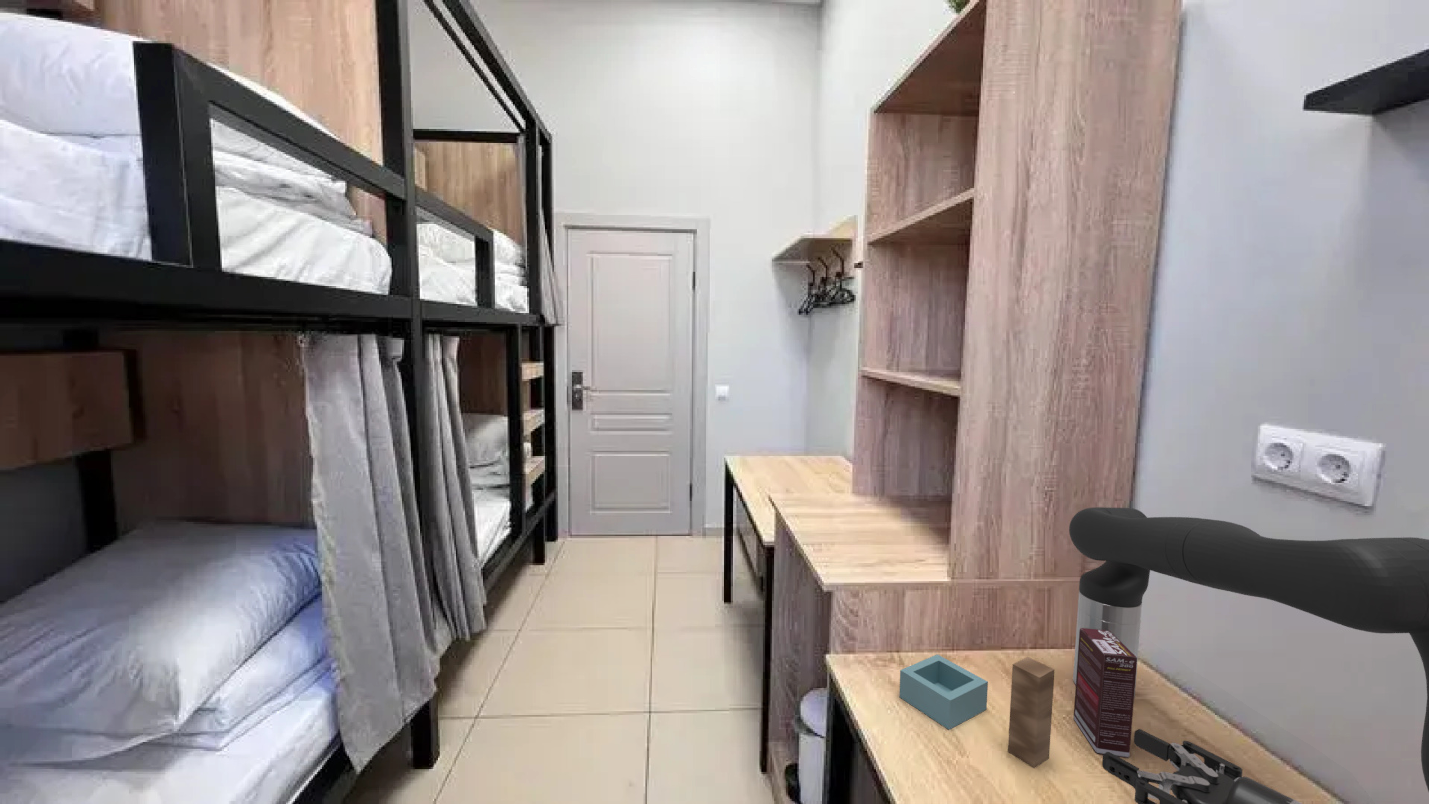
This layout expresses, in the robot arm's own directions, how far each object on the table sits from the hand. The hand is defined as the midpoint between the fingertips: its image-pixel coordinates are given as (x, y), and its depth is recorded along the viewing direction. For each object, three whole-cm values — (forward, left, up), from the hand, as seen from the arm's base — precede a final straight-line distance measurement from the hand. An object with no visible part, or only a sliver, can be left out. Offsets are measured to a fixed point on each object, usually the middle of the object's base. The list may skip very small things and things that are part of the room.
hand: (1119, 747), depth 74 cm
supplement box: (-16, 0, -9) cm, 18 cm away
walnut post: (-6, -10, -9) cm, 15 cm away
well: (-13, -23, -9) cm, 28 cm away
